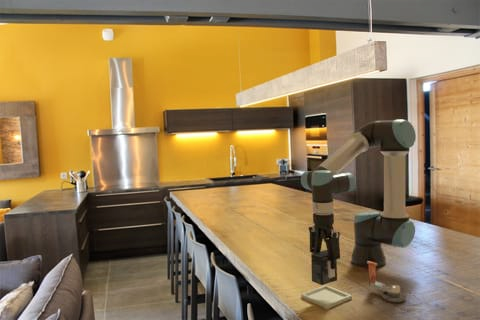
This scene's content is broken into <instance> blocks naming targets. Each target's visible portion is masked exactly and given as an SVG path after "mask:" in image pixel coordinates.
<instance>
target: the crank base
mask: <svg viewBox="0 0 480 320" xmlns="http://www.w3.org/2000/svg"><path fill="white" fill-rule="evenodd" d="M406 298H407V297H406V295H405V294H404V293H402V292H400V296H399V297H390V296H388V295H387V292H385V291H382V294H381V299H382V300H383V301H384V300H385V301H384V302H386V301H387V303H389V302H390V304H404V303H405V302H406V300H407V299H406Z"/></svg>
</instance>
